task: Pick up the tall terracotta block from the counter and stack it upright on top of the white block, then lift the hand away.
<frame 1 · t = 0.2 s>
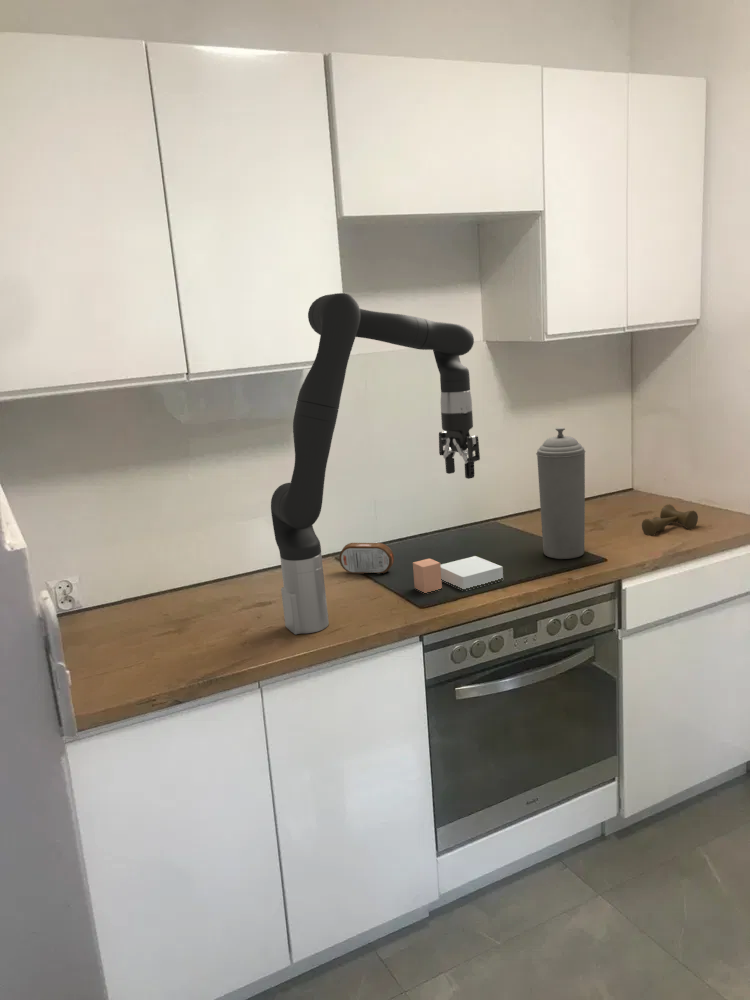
hand: (460, 475, 193), 28 cm above the worktop, tool pointing down, fingers open, 8 cm apart
white block: (470, 580, 202), on the worktop
terracotta block: (428, 589, 197), on the worktop
tin: (367, 573, 214), on the worktop
canister: (563, 554, 215), on the worktop
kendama: (670, 529, 230), on the worktop
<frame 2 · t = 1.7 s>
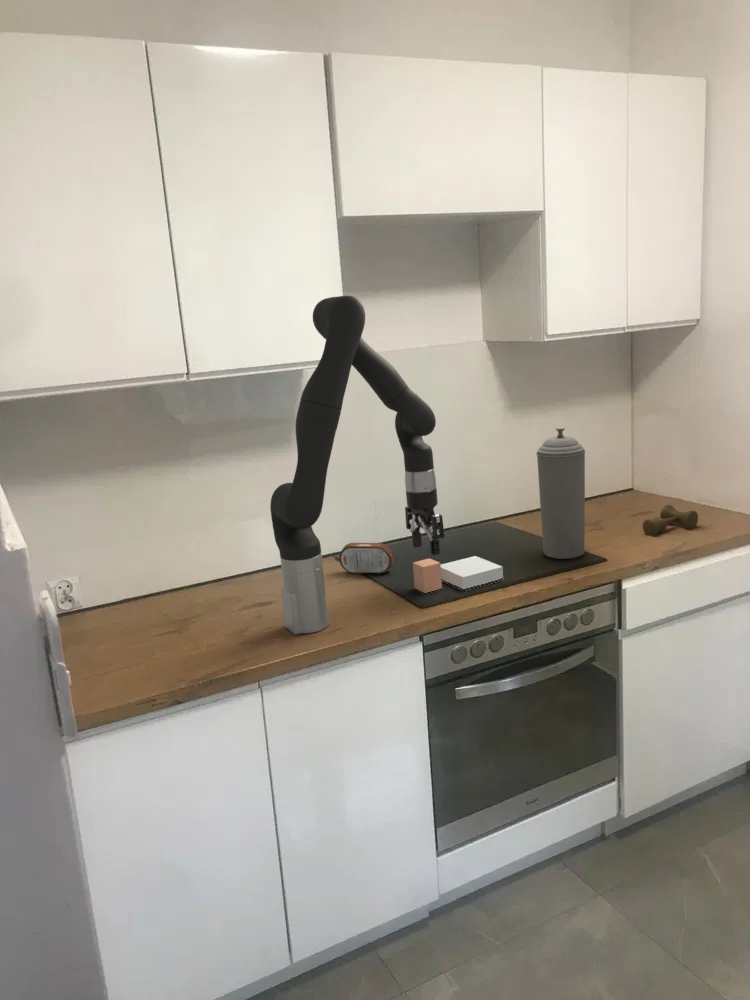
hand: (426, 550, 195), 10 cm above the worktop, tool pointing down, fingers open, 8 cm apart
nothing on the worktop moved.
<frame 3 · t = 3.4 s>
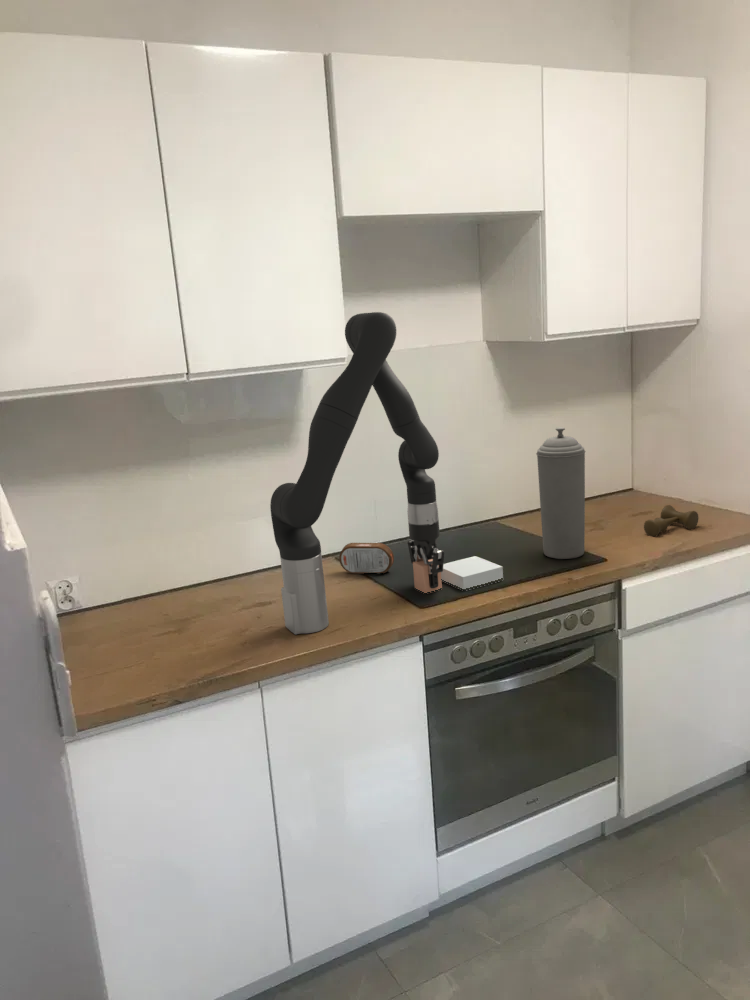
hand: (428, 584, 197), 1 cm above the worktop, tool pointing down, fingers closed on terracotta block, 5 cm apart
terracotta block: (428, 588, 197), on the worktop, touching gripper
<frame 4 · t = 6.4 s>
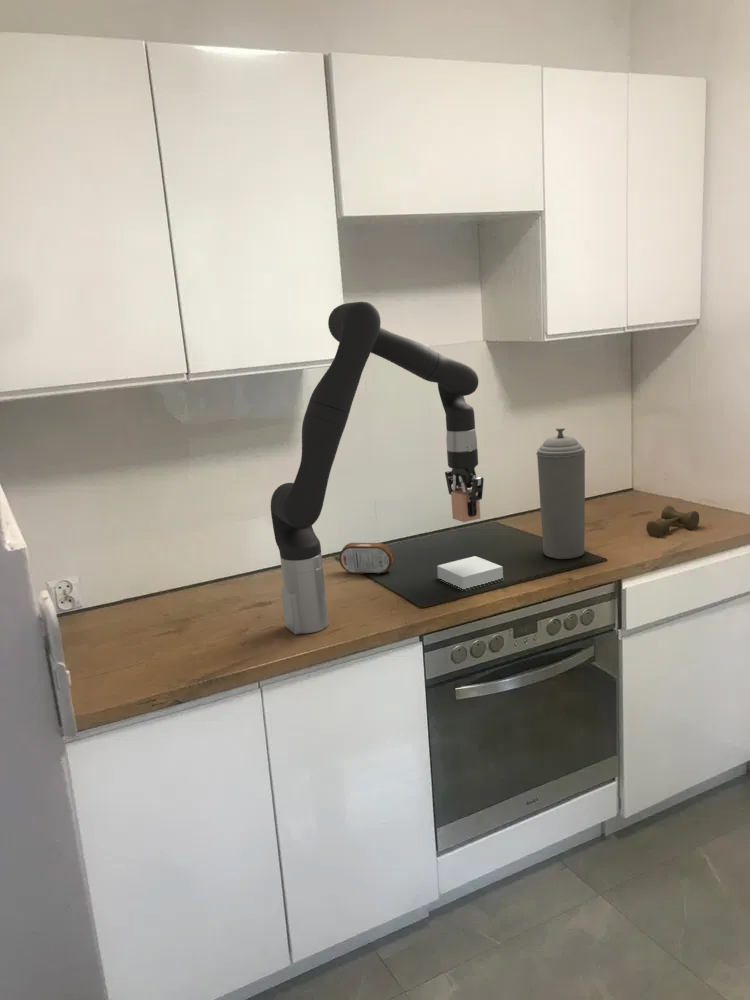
hand: (466, 513, 198), 17 cm above the worktop, tool pointing down, fingers closed on terracotta block, 5 cm apart
terracotta block: (466, 518, 198), point 16 cm above the worktop, touching gripper
when the fingers open (6 cm above the worktop, at t = 9.3 s): terracotta block drops 1 cm, resting on white block.
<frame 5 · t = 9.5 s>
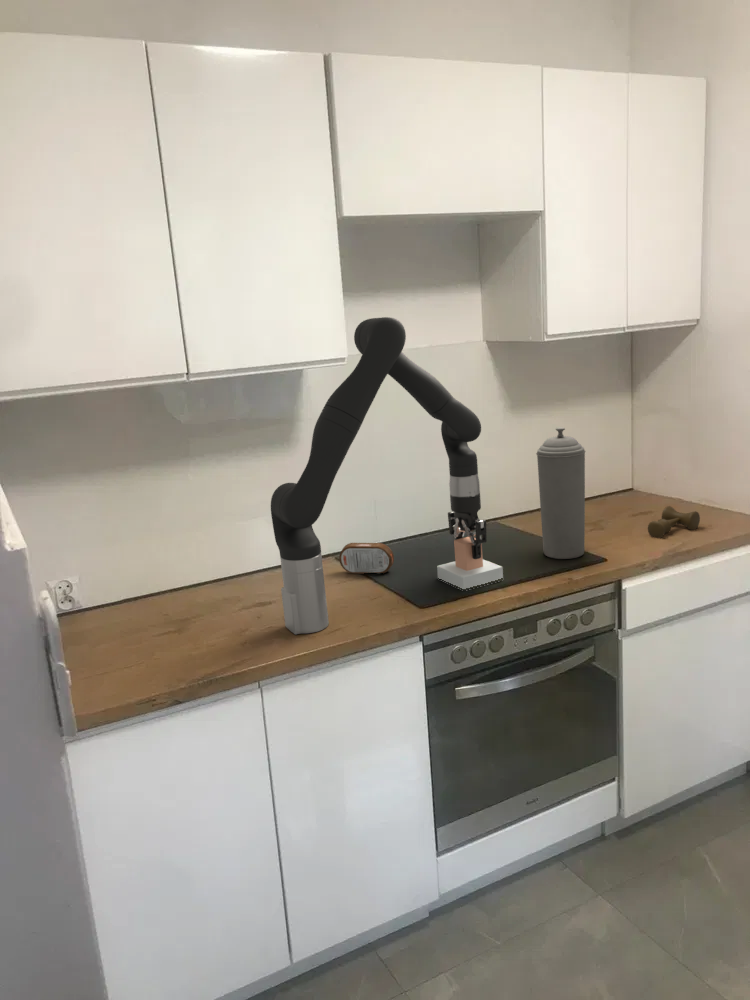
hand: (468, 555, 200), 7 cm above the worktop, tool pointing down, fingers open, 6 cm apart
white block: (470, 581, 202), on the worktop, touching terracotta block
terracotta block: (469, 566, 201), point 3 cm above the worktop, touching white block
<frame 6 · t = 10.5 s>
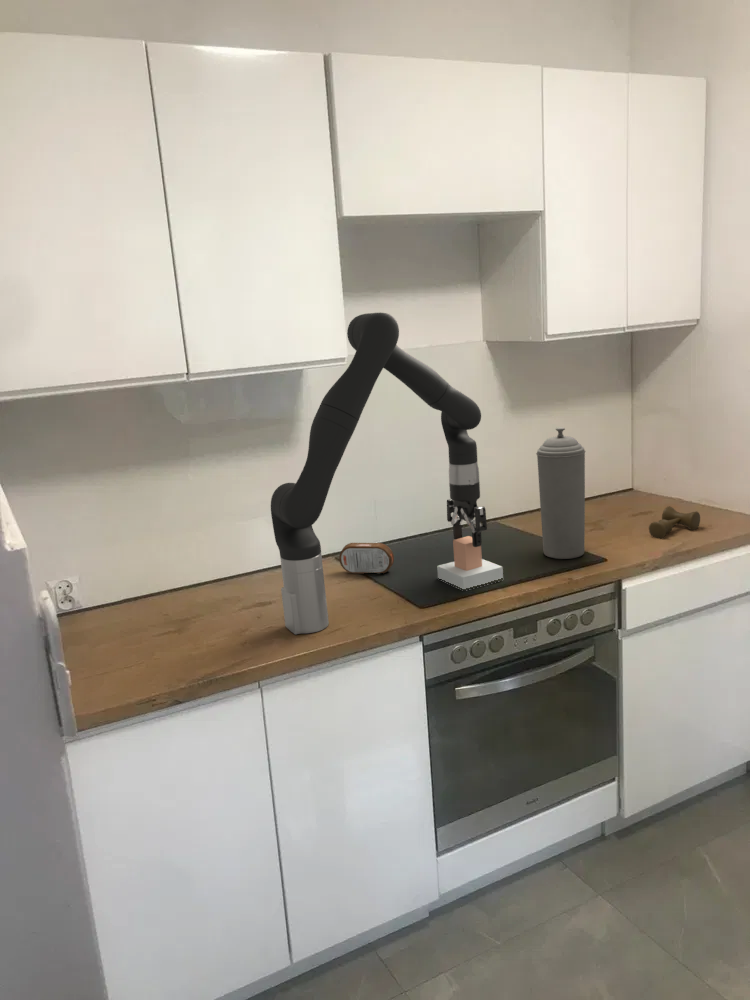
hand: (467, 542, 199), 10 cm above the worktop, tool pointing down, fingers open, 8 cm apart
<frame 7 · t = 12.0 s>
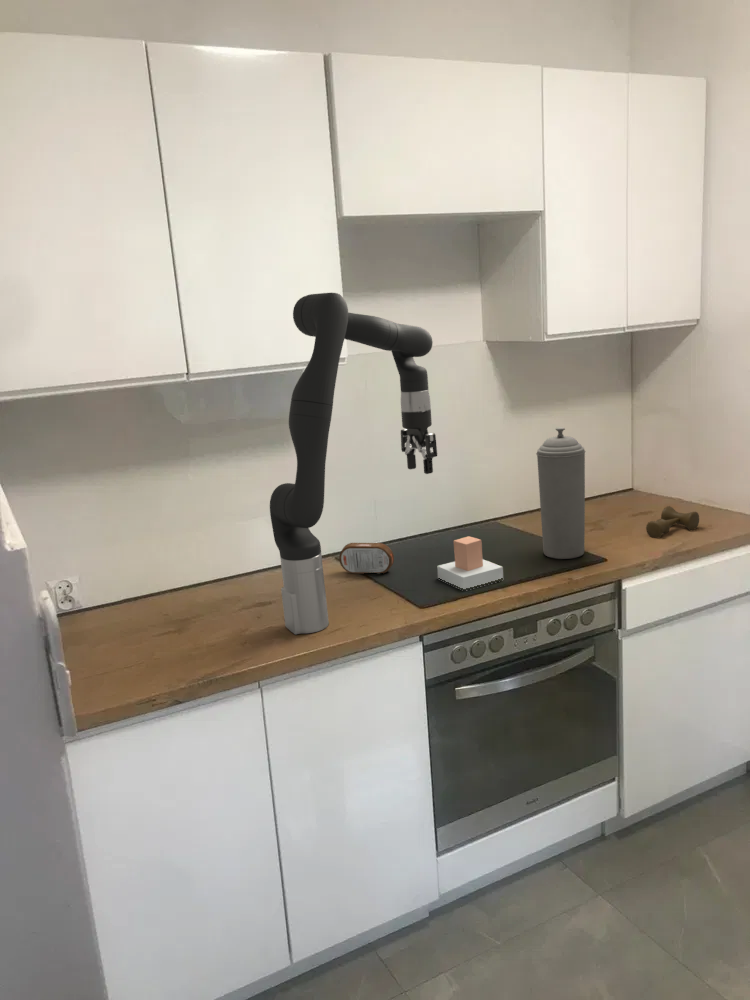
hand: (420, 471, 203), 28 cm above the worktop, tool pointing down, fingers open, 8 cm apart
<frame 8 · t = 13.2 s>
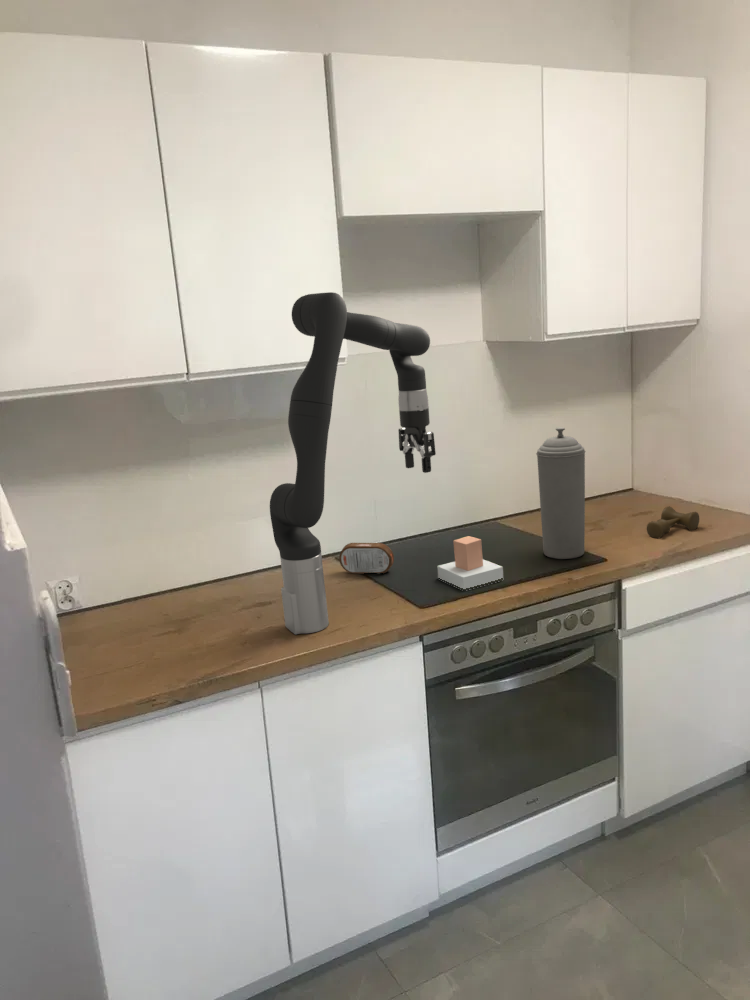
hand: (418, 470, 203), 28 cm above the worktop, tool pointing down, fingers open, 8 cm apart
at the end: terracotta block inside the target area on the white block (0.0 cm from its centre), point 4.0 cm above the white block's base; terracotta block tilted 0°; the gripper is holding nothing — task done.
